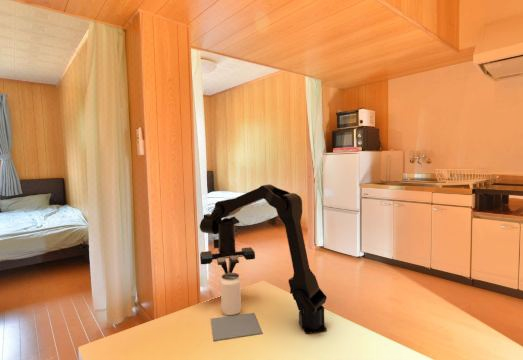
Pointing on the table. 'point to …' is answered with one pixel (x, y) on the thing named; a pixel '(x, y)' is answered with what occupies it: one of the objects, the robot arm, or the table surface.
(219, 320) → the mat
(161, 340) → the table surface
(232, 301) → the can
